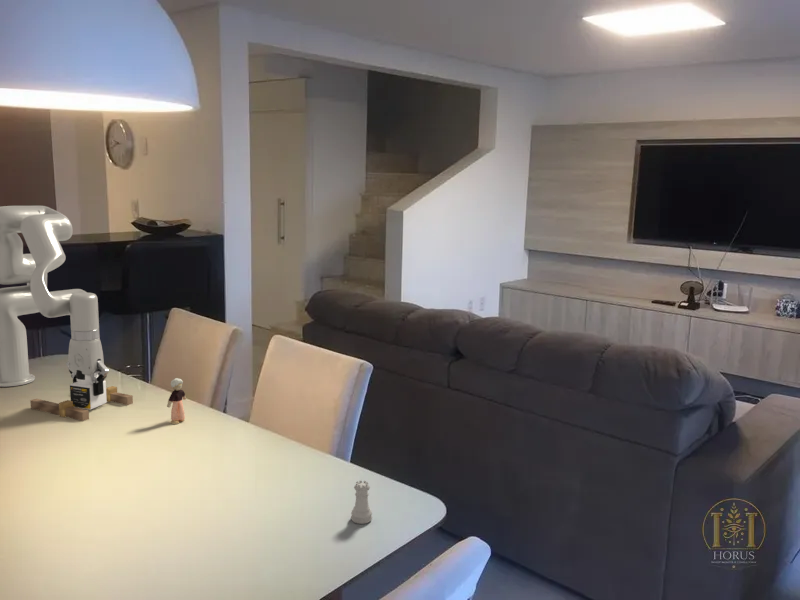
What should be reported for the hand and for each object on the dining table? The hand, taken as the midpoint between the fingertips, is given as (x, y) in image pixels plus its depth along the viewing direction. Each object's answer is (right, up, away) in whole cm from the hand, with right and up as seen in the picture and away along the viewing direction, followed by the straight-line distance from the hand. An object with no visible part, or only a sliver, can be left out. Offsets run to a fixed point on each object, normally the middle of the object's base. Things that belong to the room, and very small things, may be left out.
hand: (88, 392), depth 205 cm
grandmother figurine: (+30, -7, -9) cm, 32 cm away
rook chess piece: (+85, -18, -64) cm, 108 cm away
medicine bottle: (0, -4, +1) cm, 4 cm away
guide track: (-3, -4, +2) cm, 5 cm away
